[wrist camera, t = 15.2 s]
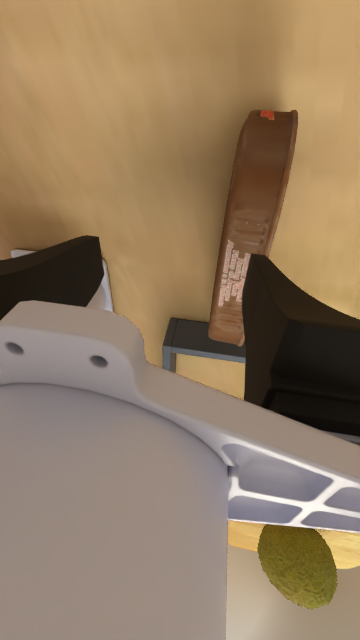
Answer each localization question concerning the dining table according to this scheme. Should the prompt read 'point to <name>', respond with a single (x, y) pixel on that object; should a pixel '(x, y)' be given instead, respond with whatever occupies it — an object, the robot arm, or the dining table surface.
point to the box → (196, 344)
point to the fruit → (298, 564)
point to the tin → (251, 213)
